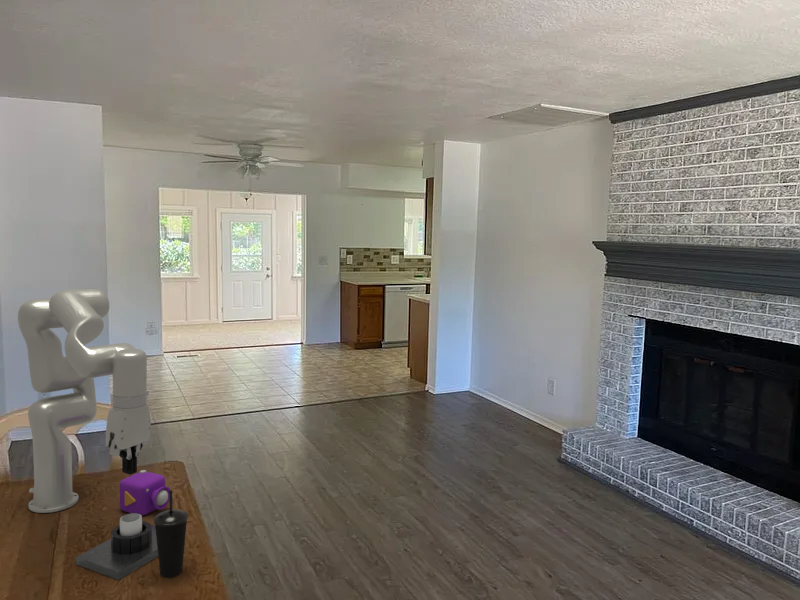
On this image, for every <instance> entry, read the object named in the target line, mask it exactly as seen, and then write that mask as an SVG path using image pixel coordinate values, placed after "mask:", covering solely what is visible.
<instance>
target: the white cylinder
mask: <svg viewBox="0 0 800 600" xmlns="http://www.w3.org/2000/svg"><path fill="white" fill-rule="evenodd" d="M142 521H143V516H142V515H140V514H137V513H126V514H124V515H122V516H121V517H120V518H119V525H120V535H121V536H133V535H138V534H140V533H142Z"/></svg>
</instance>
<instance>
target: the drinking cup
mask: <svg viewBox="0 0 800 600" xmlns="http://www.w3.org/2000/svg"><path fill="white" fill-rule="evenodd" d="M168 506H169V508H168V509H167V510H164V511H162V512H159V513H157V514H156V515H154V517H153V518H152V519H153V525H155V529H156V538H157V547H158V564H159V566H158V567H159V573H160V576H161V577H163V578H167V579H168V578H169V579H170V578H175V577H177V575H178V576H179V575H180V574H181V573H182V572H183V567H184V566H183V565H184V555H185V554H184V553H185V543H186V535H187V534H186V533H187V522H188V519H189V514H188V512H187V511H185V510H182V509H173V489H170V491H169V502H168Z"/></svg>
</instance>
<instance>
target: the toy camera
mask: <svg viewBox="0 0 800 600" xmlns="http://www.w3.org/2000/svg"><path fill="white" fill-rule="evenodd" d="M170 490H171V489H170V487H169V486H166V477H165V476H164V475H162V474H159V473H154V472H150V471H147V470H145V469H142V470H140V471H139V472H136V473H133V474H132V475H129V476H128V477H126V478H123V479H122V480H120V482H119V508H120V510H121V511H123V512H125V513H128V514H130V513H137V514H140V515H142V517H144V516H146V515H148V514H150V513H152V512H154V511H156V510H160V511H161V510H163V509H165V508H166V507H167V505H169V491H170Z"/></svg>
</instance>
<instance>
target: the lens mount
mask: <svg viewBox="0 0 800 600" xmlns="http://www.w3.org/2000/svg"><path fill="white" fill-rule="evenodd" d="M157 557H158V547H157V538H156V529H155V524H152V523H150V522H147V521H143V520H142V533H140V534H138V535H133V536H121V535H120V524H119V525H117V526H114V528H113V529H112V530H111V531H110V538H109V539H107V540H106V541H104V542H102V543H99V545H96V546H94V547H93V548H90V549H89V550H87V551H85V552H83V553H81V554H79V555H77V556H76V557H75V560H76V561H75V562H76V563H75V565H76V566H79V567H81V568H84V569H87V570H88V571H89V570H90V571H93V572H95V573H98V574H100V575H103V576H106V577H109V578H112V579H115V580H116V581H120V580H121V579H123V578H125V577H127V576H128V575H130V574H131V573H133V572H134V571H136V570H138V569H140V568H141V567H143V566H145V565H147V564H149V562H151V561H152V560H154V559H156V558H157ZM158 558H159V557H158Z"/></svg>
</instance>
